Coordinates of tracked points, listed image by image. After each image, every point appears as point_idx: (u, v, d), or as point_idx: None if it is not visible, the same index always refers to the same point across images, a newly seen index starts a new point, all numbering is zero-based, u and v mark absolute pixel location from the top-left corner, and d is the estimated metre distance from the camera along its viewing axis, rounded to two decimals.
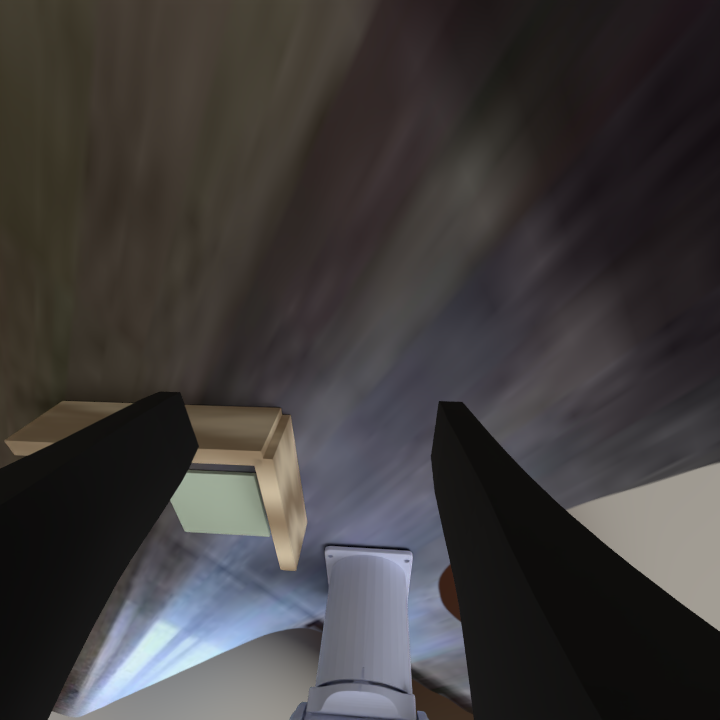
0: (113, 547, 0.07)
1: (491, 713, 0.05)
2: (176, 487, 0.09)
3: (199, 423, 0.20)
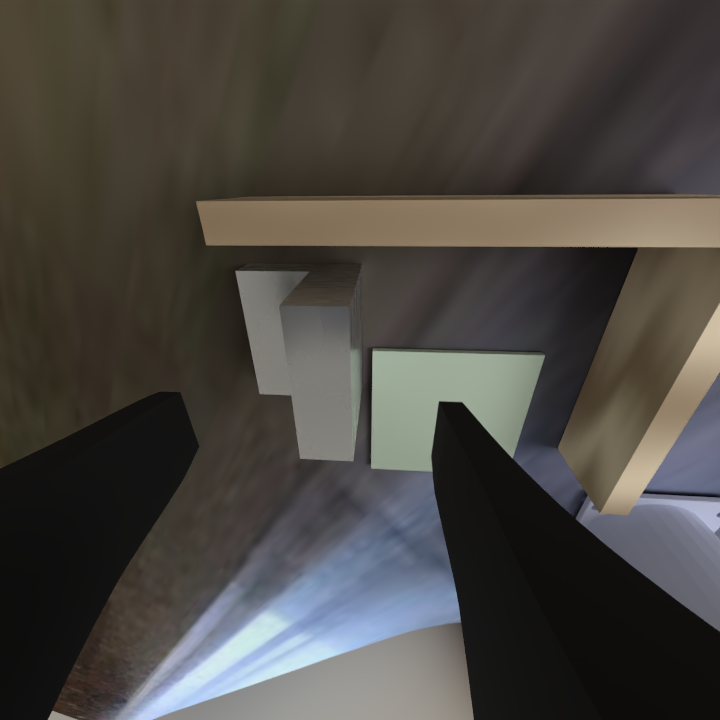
0: (114, 547, 0.07)
1: (491, 713, 0.05)
2: (176, 487, 0.09)
3: (565, 196, 0.10)
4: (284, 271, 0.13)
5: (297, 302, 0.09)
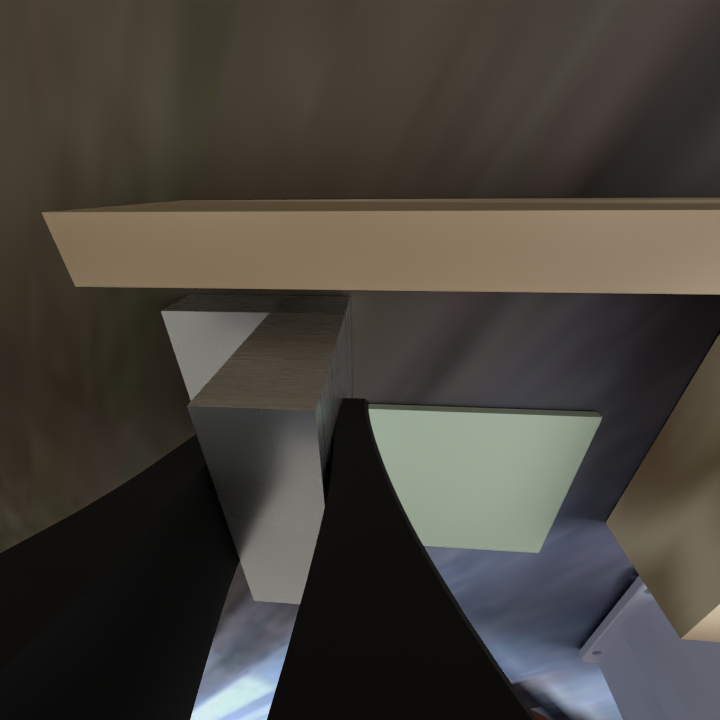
0: (226, 555, 0.07)
1: None
2: None
3: (678, 201, 0.06)
4: (233, 312, 0.08)
5: (224, 396, 0.05)
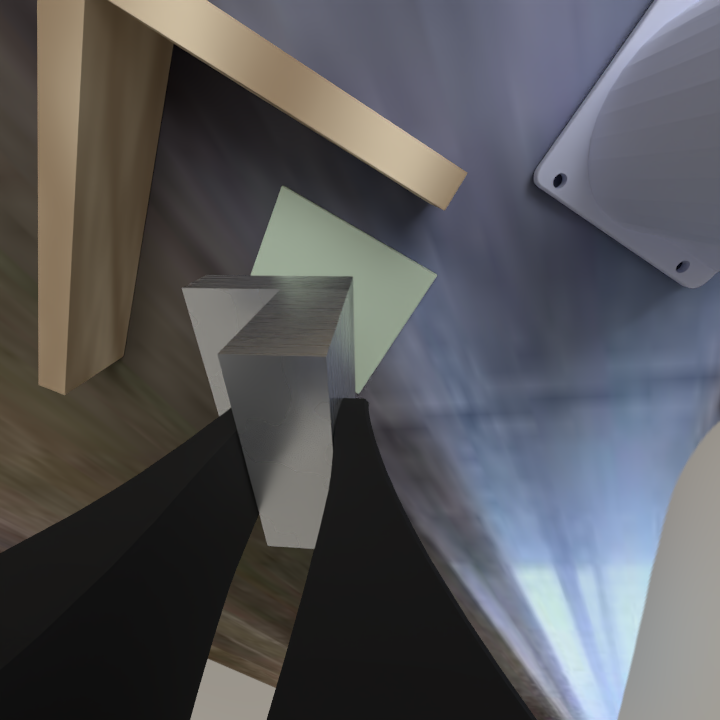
0: (226, 555, 0.07)
1: None
2: None
3: None
4: (247, 288, 0.09)
5: (247, 347, 0.06)
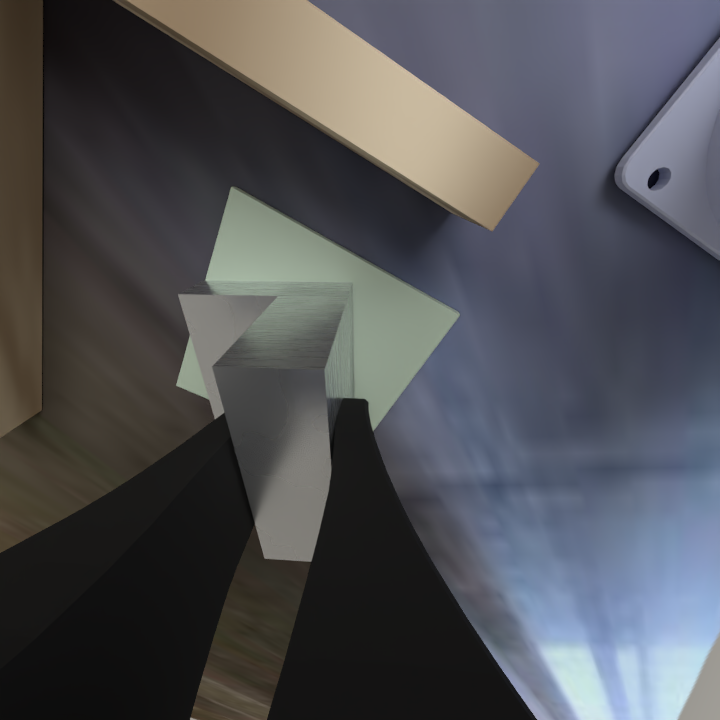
0: (226, 555, 0.07)
1: None
2: None
3: None
4: (244, 295, 0.09)
5: (244, 359, 0.06)
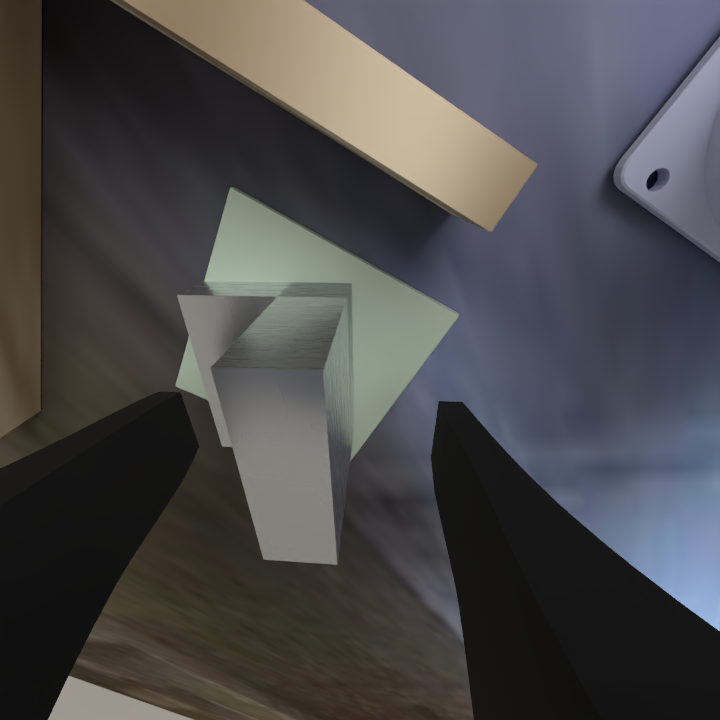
0: (113, 547, 0.07)
1: (491, 714, 0.05)
2: (176, 487, 0.09)
3: None
4: (243, 296, 0.09)
5: (242, 360, 0.06)
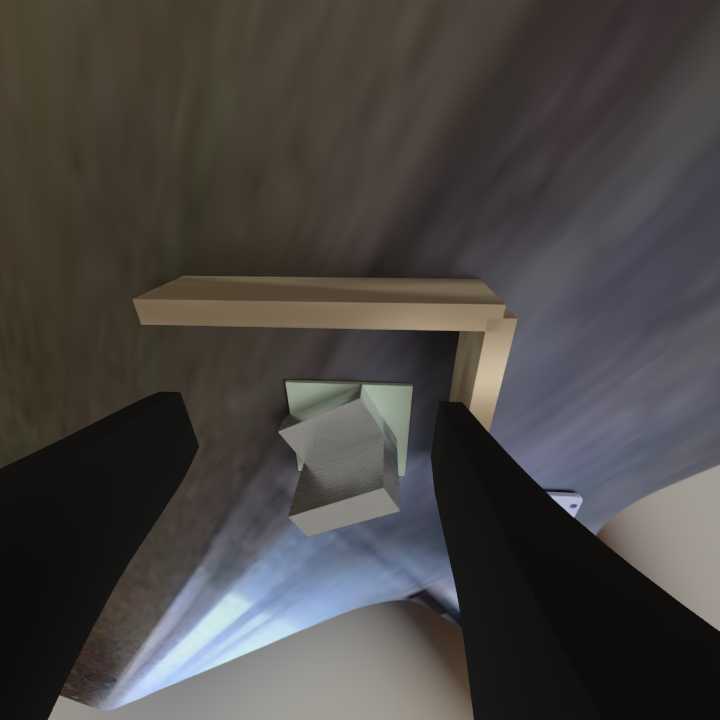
0: (113, 547, 0.07)
1: (491, 713, 0.05)
2: (176, 487, 0.09)
3: (387, 288, 0.15)
4: (375, 421, 0.19)
5: (387, 488, 0.16)
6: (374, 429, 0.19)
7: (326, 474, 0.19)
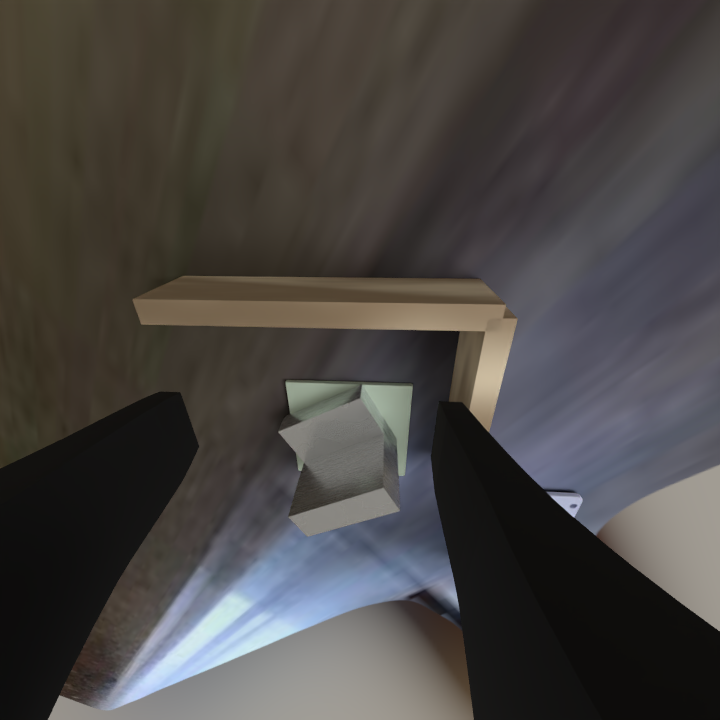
0: (113, 547, 0.07)
1: (491, 713, 0.05)
2: (176, 487, 0.09)
3: (387, 288, 0.15)
4: (375, 421, 0.19)
5: (387, 488, 0.16)
6: (374, 429, 0.19)
7: (326, 474, 0.19)
